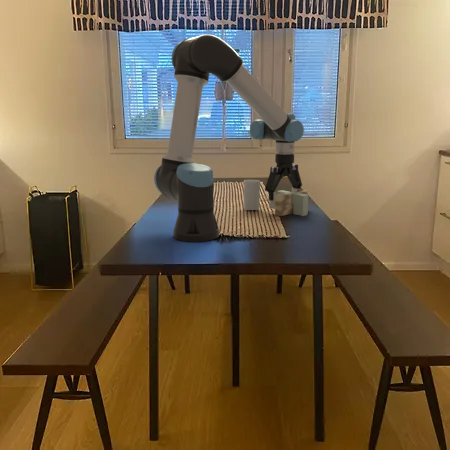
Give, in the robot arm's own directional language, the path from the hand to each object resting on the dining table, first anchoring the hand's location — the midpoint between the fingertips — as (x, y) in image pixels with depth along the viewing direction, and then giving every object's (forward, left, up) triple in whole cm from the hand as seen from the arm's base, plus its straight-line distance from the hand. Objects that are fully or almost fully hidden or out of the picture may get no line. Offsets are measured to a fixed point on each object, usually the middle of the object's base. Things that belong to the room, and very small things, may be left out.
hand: (283, 206), depth 190 cm
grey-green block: (0, -5, -2) cm, 5 cm away
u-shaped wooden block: (0, -4, -2) cm, 5 cm away
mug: (-7, +12, -2) cm, 14 cm away
